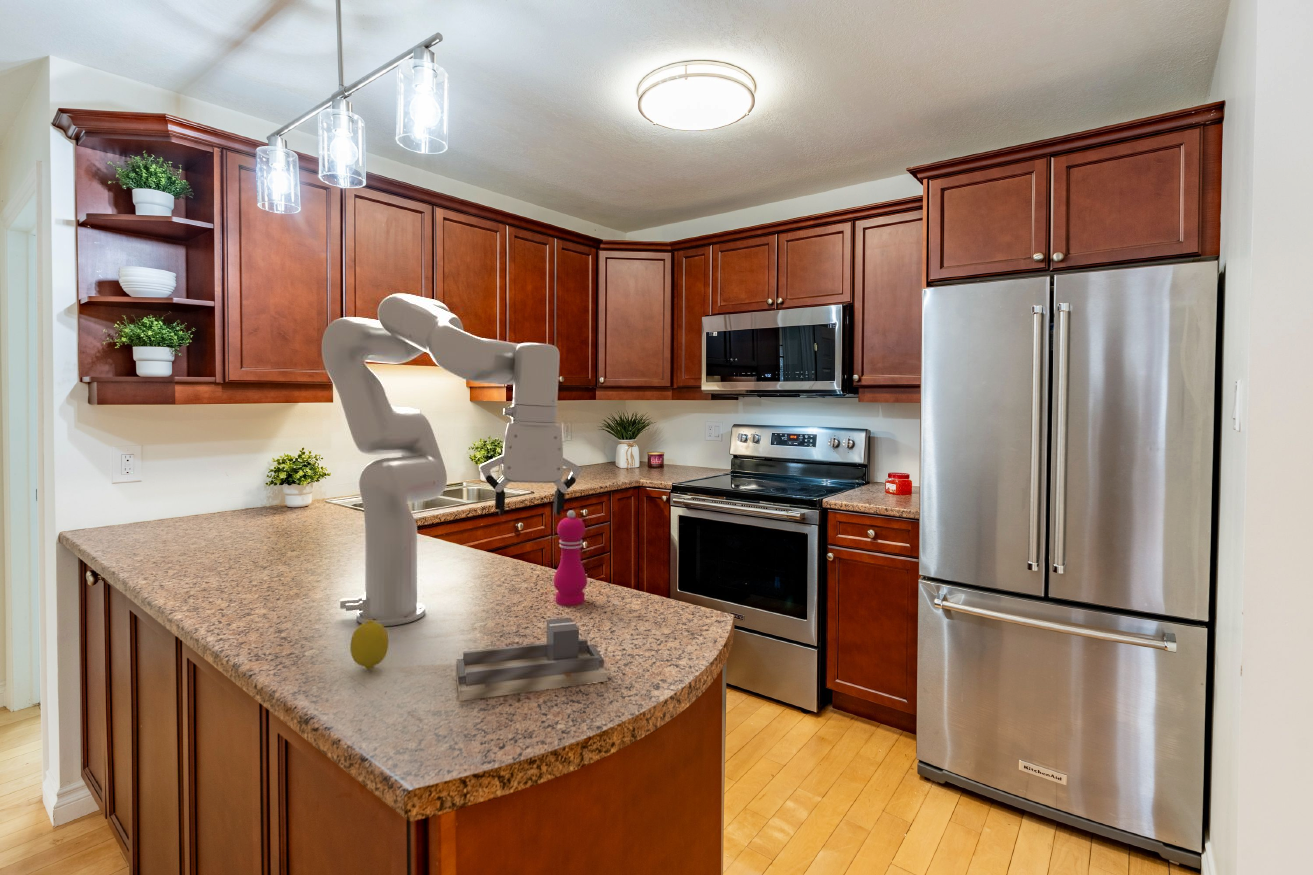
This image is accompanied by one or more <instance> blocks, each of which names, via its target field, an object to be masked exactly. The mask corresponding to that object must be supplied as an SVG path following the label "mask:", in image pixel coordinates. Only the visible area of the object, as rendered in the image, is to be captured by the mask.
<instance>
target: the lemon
mask: <svg viewBox="0 0 1313 875" xmlns="http://www.w3.org/2000/svg"><path fill="white" fill-rule="evenodd" d="M349 646H350V647H349V648H350V656H351V658H352V659H353V661H354V663H356V664H357V665H359V666H361V667H364V668H366V670H368V671H369V670H372V669H374V667H375V666H376V665H378V664H379V663H381V662H382V661H383V660H384V659H385V657H386V656H387V653H388V649H389V636H388V631H387V629H386V628H385V626H382V625H381V624H379V623H377V622H374V621H372V620H368V621H367V622H365V623H363V624H361V623H360V625H359V626H358V627H356V628H355V630H354V631H353V633H352V637H351V640H350V645H349Z"/></svg>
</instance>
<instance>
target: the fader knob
mask: <svg viewBox="0 0 1313 875" xmlns="http://www.w3.org/2000/svg"><path fill="white" fill-rule="evenodd" d="M579 632H580V629H579V627H578V625H577V624H576V622H575V621H574V620H573V618H572V617H564V618H563V617H562V618H553V619H547V620H546V642H545V643H546V656H547V659H548V661H554V660H563V659H572V658H578V653H579V639H580V638H579V637H580V634H579Z"/></svg>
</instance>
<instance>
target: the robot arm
mask: <svg viewBox="0 0 1313 875" xmlns="http://www.w3.org/2000/svg"><path fill="white" fill-rule="evenodd" d="M377 319H378V320H377ZM377 319H372V318H365V317H353V316H351V317H350V316H347V317H340V318H338V319H334V320H333V321H332V322H329V324H328V326H327V327H326V328H325V330H324V332H323V335H322V339H321V355H322V356H321V357H322V361H323V365H324V368H325V370H326V373H327V375H328V377H329V378H330V381H331V382H332V384H333V386H334V388H335V391H336V392H337V394H338V397H339V400H340V404H341V406H342V409H343V413H344V416H345V419H346V422H347V425H348V428H349V431H350V435H351V437H352V440H353V442H354V445H355V447H356V448H357V450H358V451H359V452H360V453H362V454H366V455H372V456H373V455H375V456H377V455H379V456H380V455H392V454H393V455H394V454H400V456H394V457H393V456H392V457H382V458H378V459H375V460H373V461H371V462H369V463H368V464H367V465H365V467H363V469H362V471H361V472H360V475H359V480H358V486H359V493H360V496H361V501H362V507H363V515H364V516H363V517H364V541H365V542H364V547H365V548H364V557H365V558H364V560H365V562H364V566H365V568H364V569H365V571H364V576H365V578H364V580H365V581H364V582H365V584H364V585H365V586H364V587H365V588H364V589H365V590H364V594H363V595H359V596H358V598H340V602H339V604H340V605H339V609H340V610H345V612H350V611H357V610H358V611H357V613H356V621H357V622H358V623H360V625H361V624H363V623H365V622H367V621H368V620H372V621H374V622H377V623H379V624H381V625H382V626H383V627H390V626H397V625H404V624H409V623H411V622H414V621H417V620H418V619H421V618H422V617H424V615H425V614H426V607H425V605H424V604H422V603H421V602H420V603H419V602H418V526H417V521H416V518H415V517H414V515H413V513H412V512H411V509H410V508H409V505H410V504H413V503H420V502H427V501H432V500H434V499H437V498H438V497H440V496H441V495H442V494H443V493H444V492H445V489H446V487H447V482H448V479H447V478H448V476H447V475H448V474H447V470H446V466H445V463H444V462H445V461H444V460H443V457H442V454H441V451H440V448H439V446H438V445H439V444H438V441H437V439H436V436H435V434H434V430H433V428H432V426H431V423H430V421H429V419H428V418H427V417H426V416H425V415H424V414H423V413H422V412H421V411H419V410H418V409H416V408H415V409H414V408H412V407H396V406H393V405H392V404H391V402H390V401H389V398H388V395H387V392H386V389H385V387H384V384H383V383H382V381H381V379H380V378H379V377H378V376H377V374H376V373H375V372H374V371H373V370H372V369H371V368H370V367H369V366H368V365H367V364H366V362H372V363H380V364H381V363H382V364H391V365H393V364H396V365H397V364H404V363H406V362H407V363H408V362H410V361H411V360H413V359H415V358H417V357H418V356H420V355H422V354H424V353H428V354H429V356H430V358H431V359H432V361H433V362H434V363H435V365H437V366H438V367H440V368H441V369H443V370H445V371H446V372H449V373H451V374H453V375H455V376H457V377H459V378H461V379H463V380H467V381H468V382H473V383H479V384H495V385H509V386H511V385H513V391H512V404H511V405H510V406H508V407H503V416H507V417H509V418H510V419H511V421H510V422H508V423H507V426H506V429H505V434H504V440H503V446H502V454H501V455H499V456H497V457H494V458H492V459H490V460H488V461H486V462H483V463H481V464H480V465H479V469H480V471H481V473H482V475H483V477H484V479H485V481H486V483H488V484H489V485H490V487H491V488H493V489H494V490H495V491H494V492H495V499H494V509H495V511H496V510H497V511H498V515H499V516H500V517H501V516H504V515H505V510H506V509H505V507H506V506H505V505H506V504H505V503H506V492H505V488H506V487H507V486H508V485H509V484H510V483H511V482H512V483H529V484H530V483H532V484H533V483H535V484H540V483H542V484H543V483H544V484H546V483H547V484H549V483H550V484H551V483H553V484H554V485H555V487H556V489H555V491H554V495H553V496H554V499H553V500H554V501H553V513H554V514H555V515H557V516H561V515H562V514H561V512H562V511H563V510H565V500H566V499H565V497H566V493H567V492H568V490H569V489H570V488H571V487H572V486H573V485H574V484H576V481H577V479H578V477H579V476H580V474H581V473H582V471H583V470H582V467H580V466H579V465H578V464H576V463H573V462H572V461H570V460H568V459H566V458H565V457H564V446H563V445H564V444H563V432H562V426H561V425H560V424H558V423H557V416H558V415H557V411H558V396H559V378H560V377H559V374H560V357H561V356H560V351H559V349H558V347H557V346H555V345H552V344H550V343H541V342H540V343H539V342H523V343H517V342H509V341H504V340H498V339H492V338H491V339H490V338H484V337H483V338H482V337H479V336H476V335H473V334H471V333H469V332H466V331H464V325H463V323H462V321H461V319H460V318H459V317H458V316H457V315H455V314H454V313H452V312H451V310H450V309H449V308H448V306H446V305H445V304H444V303H442V302H440V301H439V300H436V299H432V298H427V297H422V296H417V295H413V294H408V293H393V294H392V295H389V296H387V297H385V298H384V299H382V301H381V302H380V304H379V306H378V307H377ZM499 466H500V467H501V468H500V469H501V475H502V476H500V478H499V479H498V480H497V479H496V478H495V477H494V476H493V475H492V473H491V470H492V469H494V468H497V467H499ZM564 467H565V468H567V469H568V470H570V473H569V476H567V478H566V479H564V480H563V481H562V479H563V475H564Z"/></svg>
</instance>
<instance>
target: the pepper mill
mask: <svg viewBox="0 0 1313 875" xmlns="http://www.w3.org/2000/svg"><path fill="white" fill-rule="evenodd" d="M566 515H567V517H565V518H563V519H562V520H560V521H559V523H557V524H558V525H557V527H556V528H557V530H556V531H557V535H558V536H559V538H560V539H559V540H558V542H559V547H560V548H561V552H560V553H561V554H560V555H561V556H560V562H559V565H558V567H557V569H556V571H555V574H554V577H553V587H554V588H555V589H556V593H555V603H556V604H557V605H560V606H564V607H565V606H567V607H568V606H569V607H571V606H578V605H579V606H580V605H582V604H584V602H585V601H586V600H585V597H586V596H585V595H586V594H585V592H584V591H583V590H584V589H585V588H586V587H587V584H588V578H587V577H588V576H587V574H586V571H585V569H584V565H583V563H582V559H581V549H582V547H583V545H584V544H583V538H582V537H583V536H585V534H586V533H585V532H586V527H585V523H584V521H583V520H582V519H580V518H578V517H576V515H577V514H576V512H575V511H574V510H573V509H572V510H568V511H567V513H566Z"/></svg>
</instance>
